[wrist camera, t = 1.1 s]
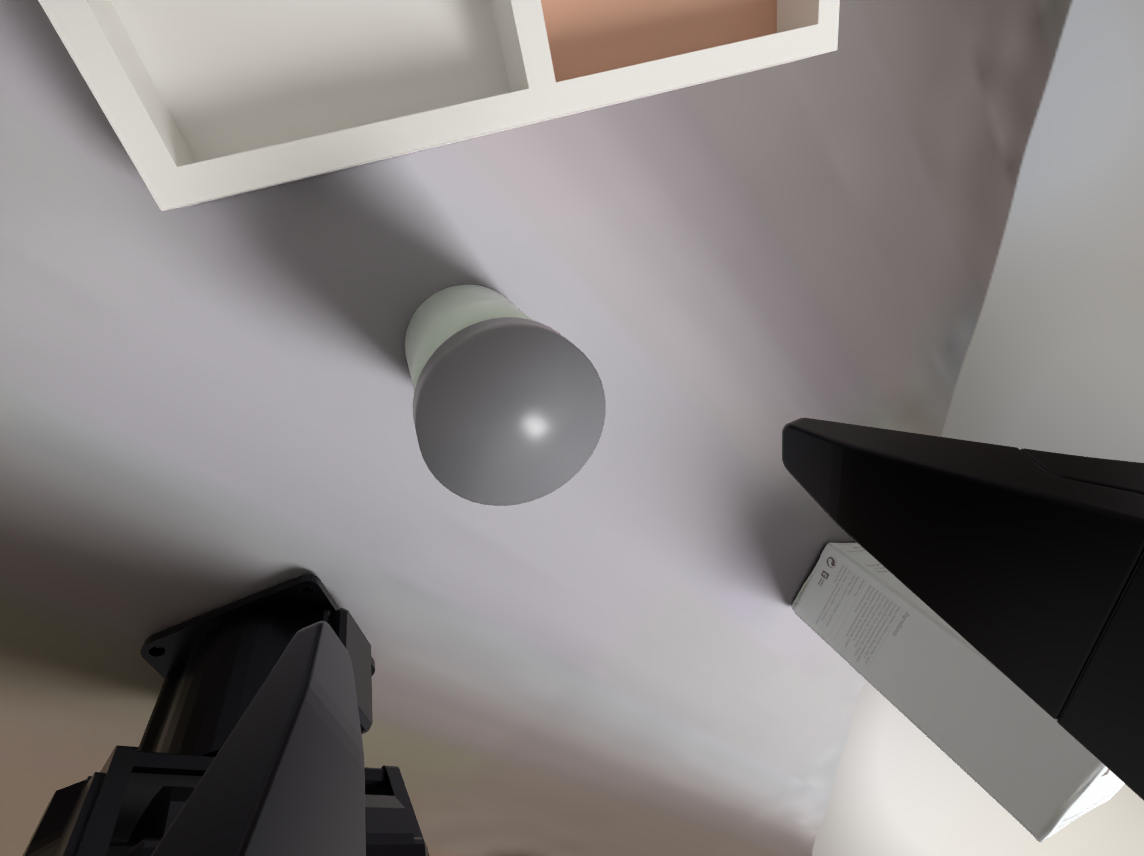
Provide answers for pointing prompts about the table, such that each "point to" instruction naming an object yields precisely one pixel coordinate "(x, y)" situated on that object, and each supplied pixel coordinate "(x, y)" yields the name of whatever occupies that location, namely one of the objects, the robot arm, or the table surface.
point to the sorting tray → (391, 73)
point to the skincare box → (952, 692)
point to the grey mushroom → (499, 398)
